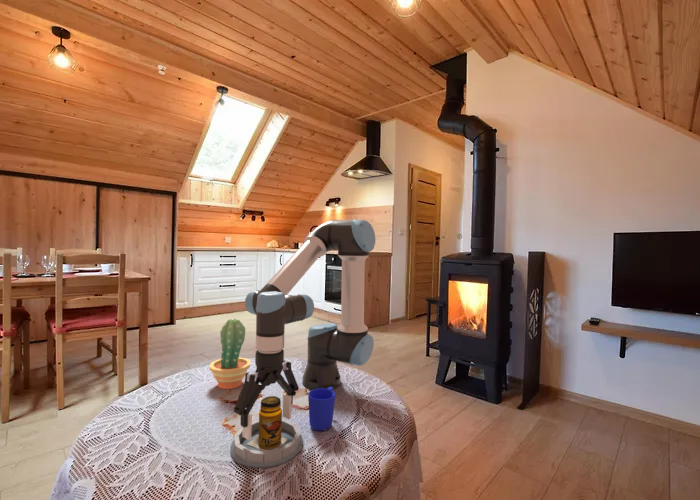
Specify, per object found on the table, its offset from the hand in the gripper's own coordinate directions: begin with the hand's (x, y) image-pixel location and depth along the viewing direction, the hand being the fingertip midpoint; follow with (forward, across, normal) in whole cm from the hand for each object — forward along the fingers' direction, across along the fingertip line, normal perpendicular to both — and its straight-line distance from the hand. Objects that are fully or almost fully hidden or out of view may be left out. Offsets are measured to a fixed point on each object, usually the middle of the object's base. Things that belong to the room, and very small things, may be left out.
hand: (267, 427), depth 93 cm
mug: (+5, -19, +4) cm, 20 cm away
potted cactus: (+5, -17, -43) cm, 47 cm away
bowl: (+5, 0, 0) cm, 5 cm away
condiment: (+4, 0, 0) cm, 4 cm away
